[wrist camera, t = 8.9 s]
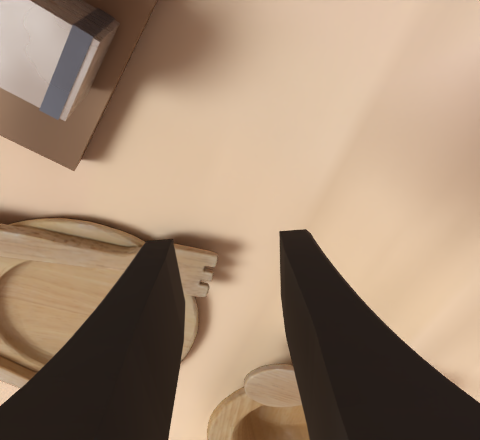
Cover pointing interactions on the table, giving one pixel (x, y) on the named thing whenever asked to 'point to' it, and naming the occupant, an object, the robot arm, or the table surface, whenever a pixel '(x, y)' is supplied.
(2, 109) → the board
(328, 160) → the table surface
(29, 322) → the tableware set
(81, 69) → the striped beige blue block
